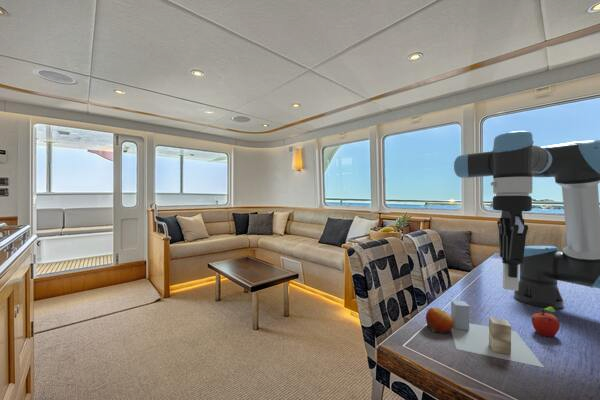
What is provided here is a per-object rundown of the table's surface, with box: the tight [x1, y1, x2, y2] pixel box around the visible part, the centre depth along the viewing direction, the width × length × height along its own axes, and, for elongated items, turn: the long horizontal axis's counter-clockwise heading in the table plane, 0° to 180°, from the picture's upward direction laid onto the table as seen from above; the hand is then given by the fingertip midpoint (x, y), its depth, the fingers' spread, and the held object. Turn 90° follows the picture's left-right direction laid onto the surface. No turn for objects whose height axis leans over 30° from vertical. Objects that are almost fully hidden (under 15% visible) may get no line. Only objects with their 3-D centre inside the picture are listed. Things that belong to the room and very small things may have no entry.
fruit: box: [425, 307, 454, 334], centre depth 82 cm, size 8×8×8 cm
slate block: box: [450, 299, 470, 331], centre depth 83 cm, size 4×4×8 cm
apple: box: [531, 306, 561, 338], centre depth 79 cm, size 8×7×10 cm
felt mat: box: [450, 322, 545, 368], centre depth 76 cm, size 19×19×1 cm
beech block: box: [488, 316, 512, 355], centre depth 71 cm, size 4×4×8 cm
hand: (510, 288), depth 64 cm, fingers closed
